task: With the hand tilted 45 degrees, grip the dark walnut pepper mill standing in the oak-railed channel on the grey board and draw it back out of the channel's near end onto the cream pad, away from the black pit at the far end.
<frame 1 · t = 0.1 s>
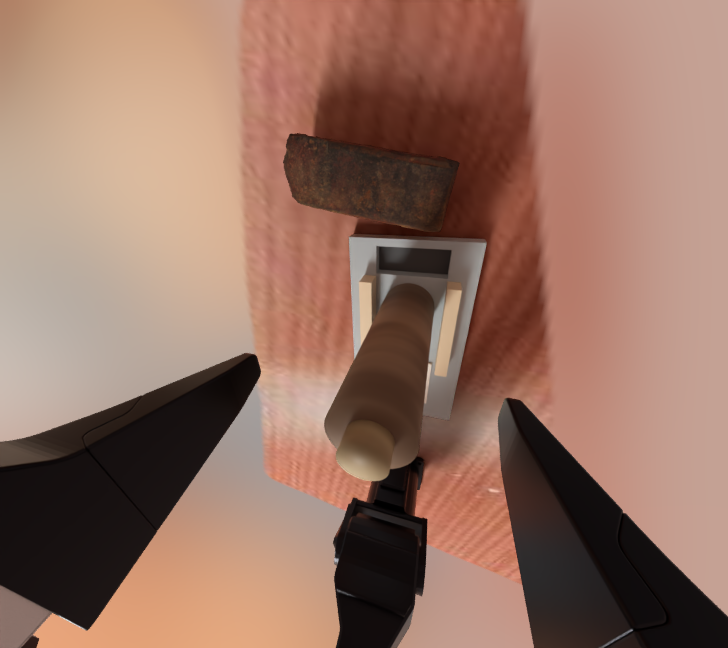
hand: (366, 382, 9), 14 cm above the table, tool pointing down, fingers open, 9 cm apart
brick: (378, 180, 20), on the table
pepper mill: (408, 306, 22), point 1 cm above the table, touching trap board
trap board: (407, 334, 25), on the table
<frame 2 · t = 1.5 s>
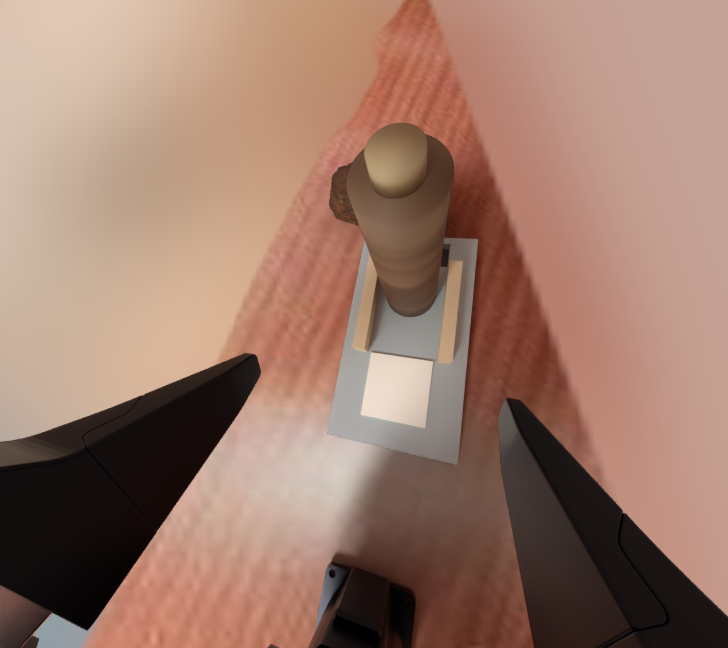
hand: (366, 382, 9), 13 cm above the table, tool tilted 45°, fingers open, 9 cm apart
brick: (391, 217, 27), on the table
pepper mill: (410, 293, 23), point 1 cm above the table, touching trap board
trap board: (405, 336, 23), on the table
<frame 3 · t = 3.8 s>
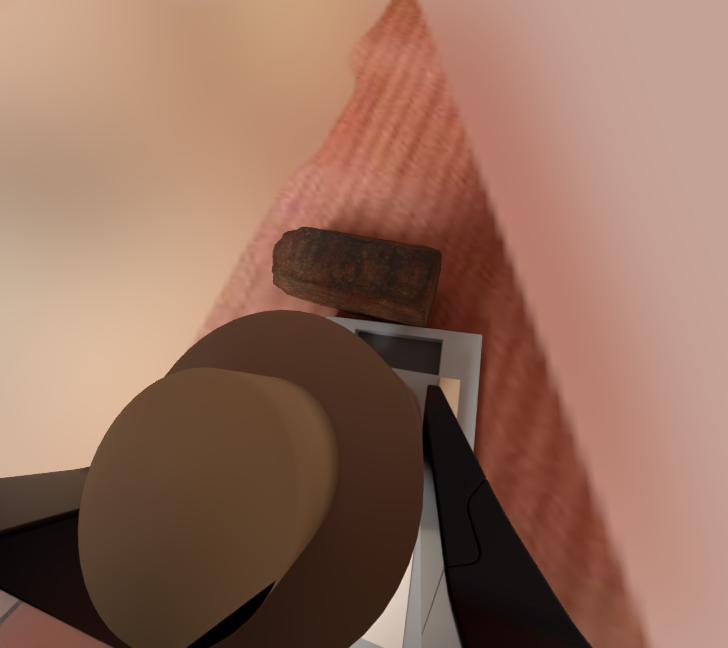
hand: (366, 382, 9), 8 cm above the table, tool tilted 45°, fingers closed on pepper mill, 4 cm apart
brick: (361, 292, 20), on the table
pepper mill: (385, 413, 16), point 1 cm above the table, touching gripper, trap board
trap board: (378, 472, 16), on the table
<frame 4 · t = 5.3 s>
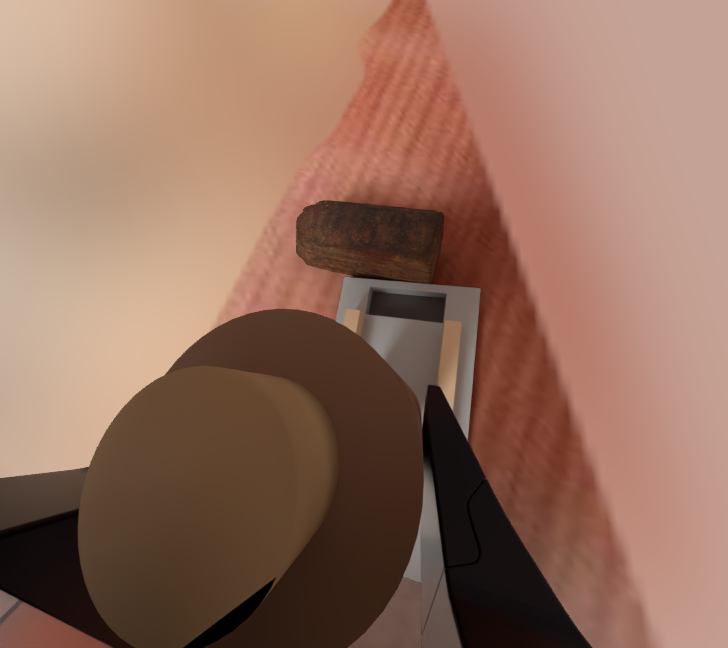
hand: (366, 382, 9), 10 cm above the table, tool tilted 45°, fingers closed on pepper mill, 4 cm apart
brick: (373, 260, 22), on the table
pepper mill: (385, 412, 16), point 3 cm above the table, touching gripper
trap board: (391, 406, 19), on the table
when the fingers open (9 cm above the table, at t = 6.6 s): pepper mill stays where it is, resting on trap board.
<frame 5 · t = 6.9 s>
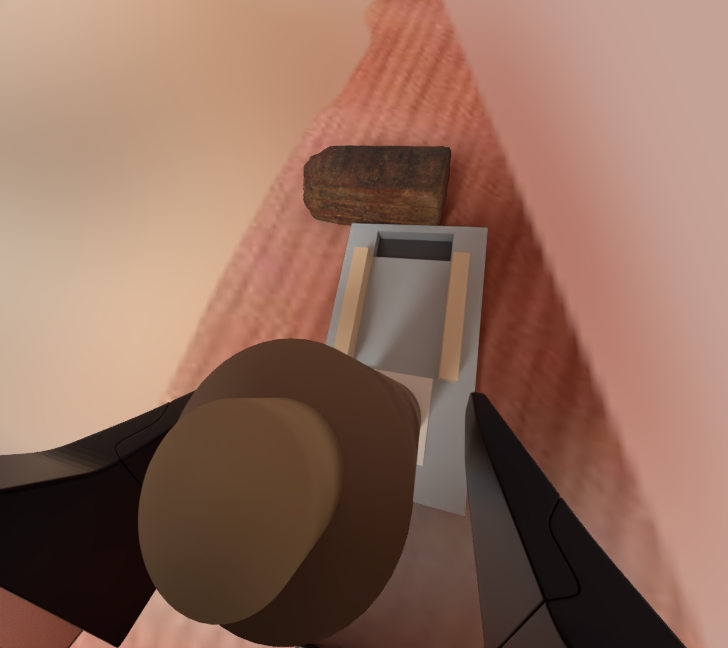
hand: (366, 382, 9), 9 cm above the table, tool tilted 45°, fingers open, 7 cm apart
brick: (379, 212, 23), on the table
pepper mill: (386, 414, 16), point 1 cm above the table, touching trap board
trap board: (399, 345, 19), on the table
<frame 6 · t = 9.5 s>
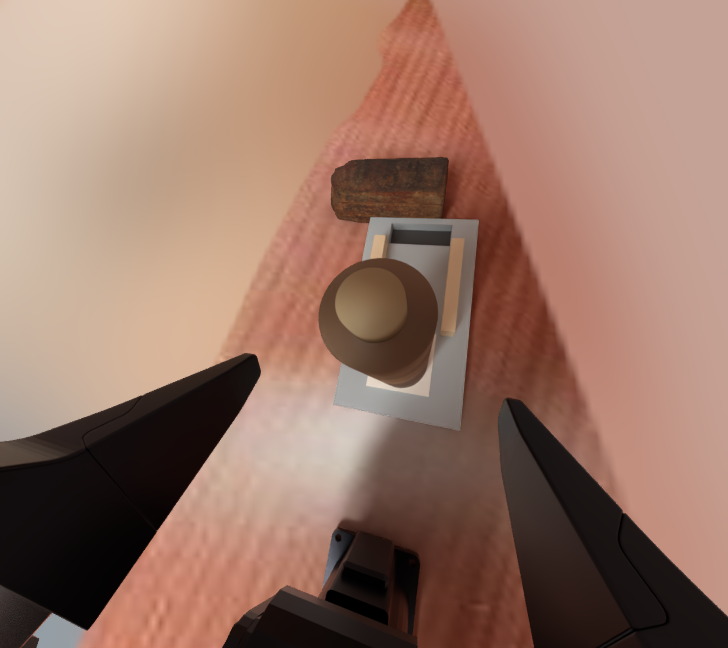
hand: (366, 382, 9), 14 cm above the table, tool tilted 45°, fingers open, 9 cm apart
brick: (390, 211, 28), on the table
pepper mill: (400, 361, 21), point 1 cm above the table, touching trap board
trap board: (409, 312, 24), on the table
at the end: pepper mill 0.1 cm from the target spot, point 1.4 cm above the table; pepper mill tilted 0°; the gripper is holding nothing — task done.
